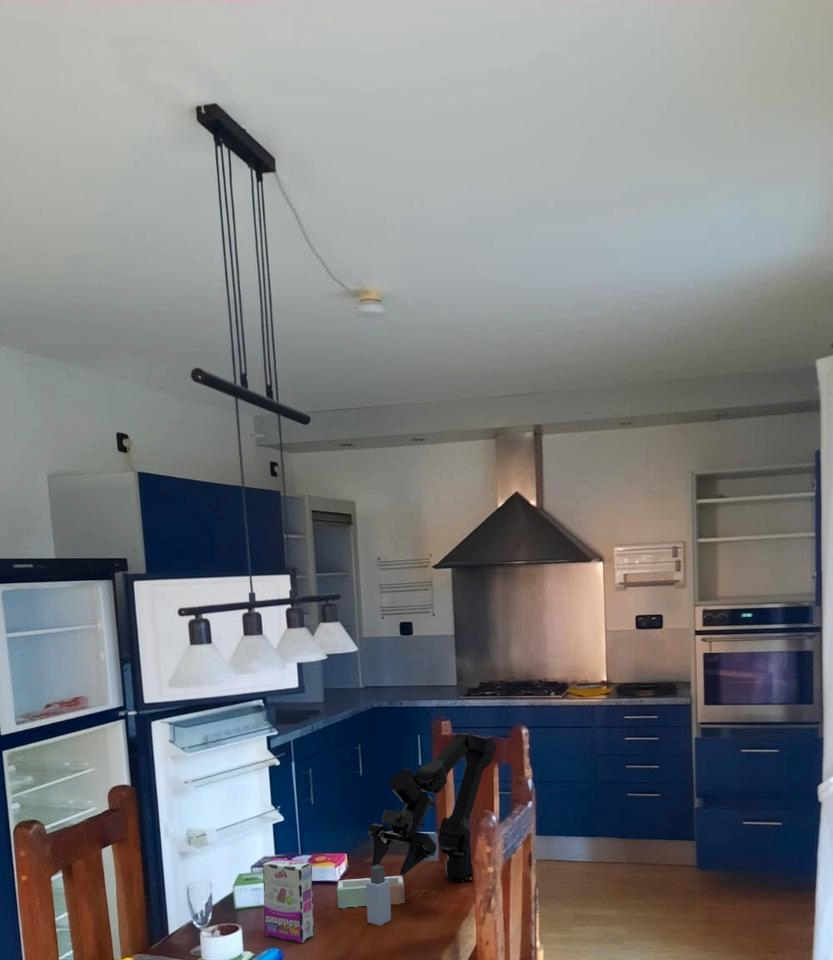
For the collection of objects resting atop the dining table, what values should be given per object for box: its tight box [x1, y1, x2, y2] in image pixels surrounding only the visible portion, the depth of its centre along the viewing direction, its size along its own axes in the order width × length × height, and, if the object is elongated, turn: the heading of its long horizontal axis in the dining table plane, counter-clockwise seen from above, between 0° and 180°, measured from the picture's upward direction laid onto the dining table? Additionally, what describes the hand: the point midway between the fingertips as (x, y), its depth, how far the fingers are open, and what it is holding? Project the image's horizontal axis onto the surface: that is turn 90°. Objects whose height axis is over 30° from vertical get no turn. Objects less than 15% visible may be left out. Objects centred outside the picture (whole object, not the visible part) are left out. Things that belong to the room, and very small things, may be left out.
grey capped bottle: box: [366, 864, 392, 927], centre depth 201 cm, size 4×4×12 cm
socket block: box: [336, 875, 406, 909], centre depth 215 cm, size 10×17×4 cm, turn 94°
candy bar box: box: [262, 857, 315, 944], centre depth 195 cm, size 11×5×16 cm, turn 62°
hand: (387, 871), depth 204 cm, fingers open, 9 cm apart
